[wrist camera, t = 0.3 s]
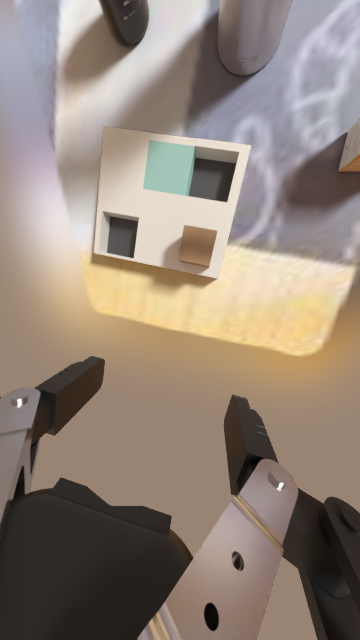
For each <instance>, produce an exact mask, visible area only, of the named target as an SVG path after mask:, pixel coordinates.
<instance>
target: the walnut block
mask: <svg viewBox="0 0 360 640" xmlns="http://www.w3.org/2000/svg"><path fill="white" fill-rule="evenodd" d="M216 236H217V231H216V230H210V229H205V228H199V227H194V226H188V225H184V229H183V234H182V239H181V245H180V250H179V255H178V260H179V261H180V262H182V263H187V264H192V265H197V266H202V267H207V268H209V266H210V262H211V257H212V253H213V249H214V244H215V240H216Z"/></svg>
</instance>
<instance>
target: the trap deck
mask: <svg viewBox="0 0 360 640" xmlns="http://www.w3.org/2000/svg"><path fill="white" fill-rule="evenodd" d="M250 148H251V145H244V144H236V143H229V142H221V141H213V140H206V139H198V138H196V139H195V138H187V137H180V136H172V135H165V134H157V133H150V132H144V131H137V130H129V129H122V128H114V127H106V126H104V128H103V141H102V154H101V167H100V179H99V192H98V205H97V218H96V230H95V243H94V253H96V254H100V255H104V256H109V257H114V258H119V259H123V260H128V261H133V262H138V263H143V264H148V265H153V266H157V267H162V268H167V269H172V270H177V271H182V272H186V273H191V274H196V275H201V276H206V277H211V278H216V279H218V277H219V273H220V269H221V265H222V261H223V257H224V253H225V249H226V245H227V241H228V237H229V233H230V229H231V225H232V221H233V217H234V213H235V209H236V204H237V200H238V196H239V192H240V188H241V184H242V180H243V176H244V172H245V168H246V164H247V160H248V156H249V152H250ZM184 225H188V226H194V227H199V228H205V229H210V230H216V231H217V236H216V240H215V244H214V249H213V253H212V257H211V262H210V266H209V268H207V267H202V266H197V265H192V264H187V263H182V262H180V261H179V260H178V255H179V250H180V245H181V239H182V234H183V229H184Z"/></svg>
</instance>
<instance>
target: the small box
mask: <svg viewBox="0 0 360 640" xmlns="http://www.w3.org/2000/svg"><path fill="white" fill-rule="evenodd" d="M338 171H339V172H346V171H356V172H360V119H359V120H358V121H357V122H356V123H355V124H354V125H353V126H352V127H351V128H350V129H349V131H348V134H347V138H346V142H345V146H344V150H343V154H342V158H341V162H340V166H339V170H338Z"/></svg>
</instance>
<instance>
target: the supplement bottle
mask: <svg viewBox="0 0 360 640" xmlns="http://www.w3.org/2000/svg"><path fill="white" fill-rule="evenodd" d="M98 1H99V3H100V6H101V9H102V11H103V14H104V17H105V19H106V22H107V24H108V27H109V30H110V32H111V34H112V36H113V37H114V38H115V40H116V41H117V42H119V43H120V44H122V45H125V46H131V45H134V44H136V43H137V42H138V41H139V40H140V39H141V38H142V37H143V35H144V34H145V31H146V29H147V26H148V21H149V7H148V1H147V0H98Z"/></svg>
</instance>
